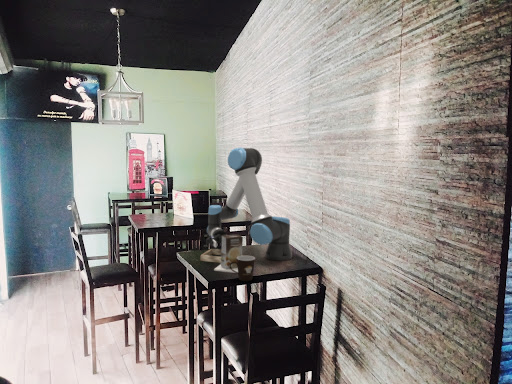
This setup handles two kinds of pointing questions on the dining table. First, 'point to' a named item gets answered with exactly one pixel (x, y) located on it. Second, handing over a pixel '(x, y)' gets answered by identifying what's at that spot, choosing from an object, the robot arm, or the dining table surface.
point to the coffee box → (231, 250)
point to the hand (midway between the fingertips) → (228, 244)
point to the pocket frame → (209, 258)
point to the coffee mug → (245, 267)
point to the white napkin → (225, 269)
